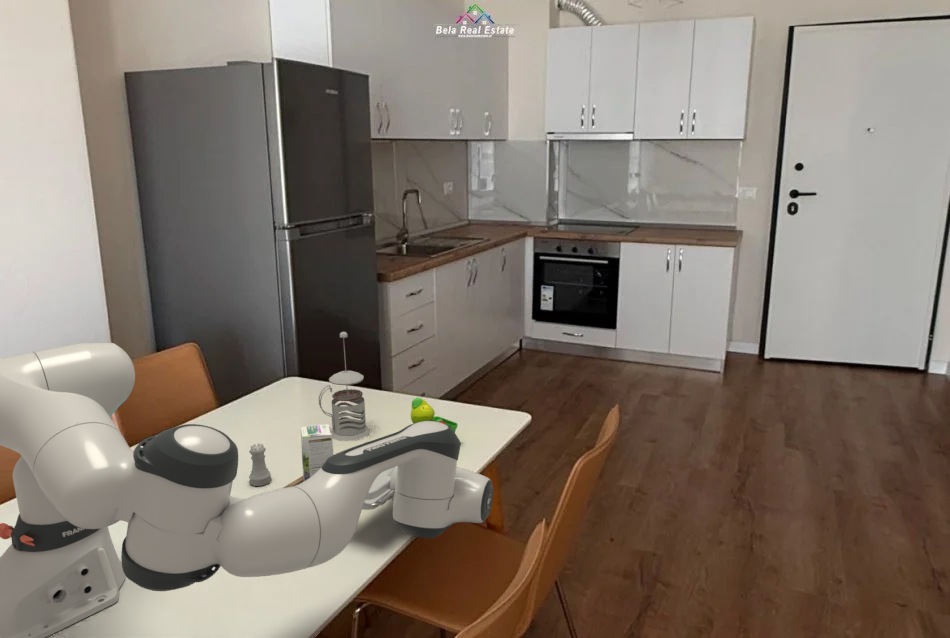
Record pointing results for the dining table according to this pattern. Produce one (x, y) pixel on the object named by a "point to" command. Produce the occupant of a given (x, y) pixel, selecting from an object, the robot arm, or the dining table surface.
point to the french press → (346, 426)
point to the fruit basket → (427, 414)
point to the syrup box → (315, 448)
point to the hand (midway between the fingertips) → (349, 467)
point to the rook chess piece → (259, 467)
